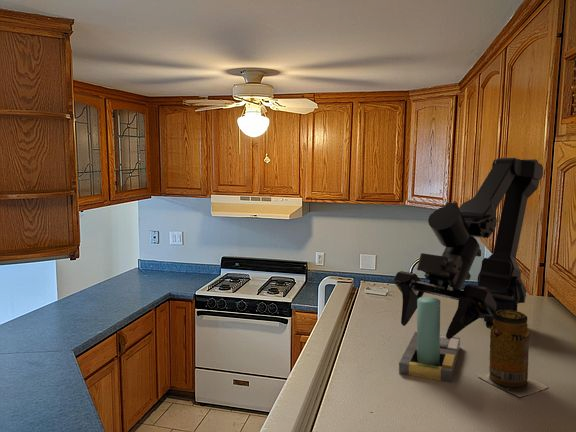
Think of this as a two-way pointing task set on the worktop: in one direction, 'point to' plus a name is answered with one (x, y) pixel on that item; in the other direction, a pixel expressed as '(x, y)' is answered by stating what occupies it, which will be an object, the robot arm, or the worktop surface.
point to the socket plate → (431, 371)
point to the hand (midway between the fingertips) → (424, 331)
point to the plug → (428, 331)
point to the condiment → (510, 354)
